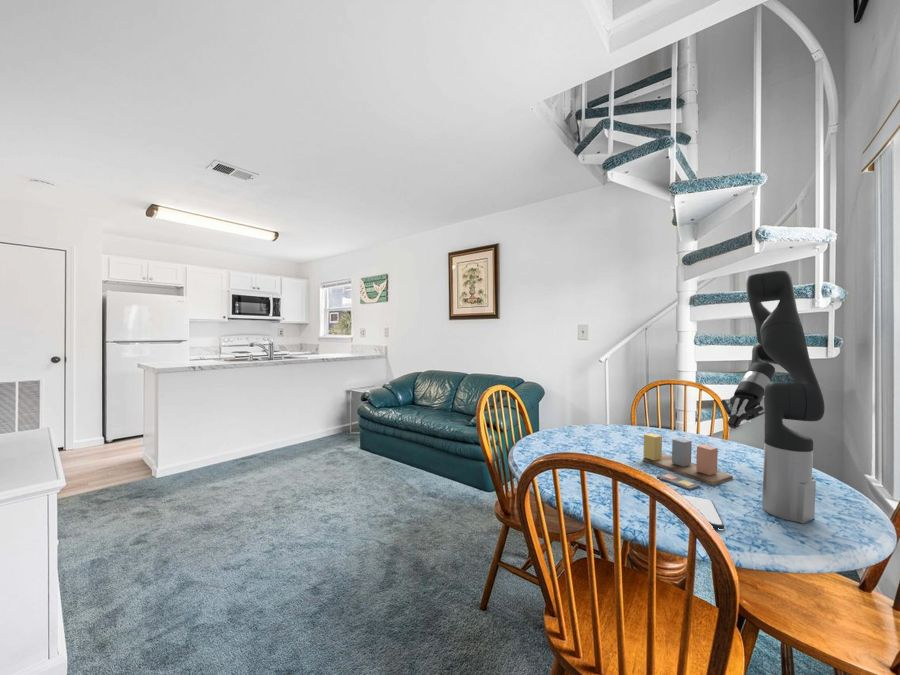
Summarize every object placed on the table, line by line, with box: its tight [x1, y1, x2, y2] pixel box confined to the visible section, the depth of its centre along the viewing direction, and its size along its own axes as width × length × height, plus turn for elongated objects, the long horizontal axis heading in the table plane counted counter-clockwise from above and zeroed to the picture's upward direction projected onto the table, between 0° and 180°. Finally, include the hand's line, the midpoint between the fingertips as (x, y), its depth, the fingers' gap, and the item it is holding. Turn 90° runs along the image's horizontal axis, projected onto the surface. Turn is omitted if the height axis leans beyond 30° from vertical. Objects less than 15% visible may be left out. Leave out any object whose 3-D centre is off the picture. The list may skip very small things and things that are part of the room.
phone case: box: [681, 494, 725, 531], centre depth 97 cm, size 9×2×16 cm
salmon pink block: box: [695, 443, 719, 475], centre depth 120 cm, size 4×4×8 cm
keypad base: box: [642, 453, 734, 486], centre depth 126 cm, size 23×11×1 cm, turn 27°
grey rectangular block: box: [671, 437, 693, 467], centre depth 127 cm, size 4×4×8 cm
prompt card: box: [656, 472, 701, 491], centre depth 115 cm, size 10×5×1 cm, turn 27°
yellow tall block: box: [642, 432, 663, 460], centre depth 133 cm, size 4×4×8 cm
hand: (731, 426), depth 126 cm, fingers closed
